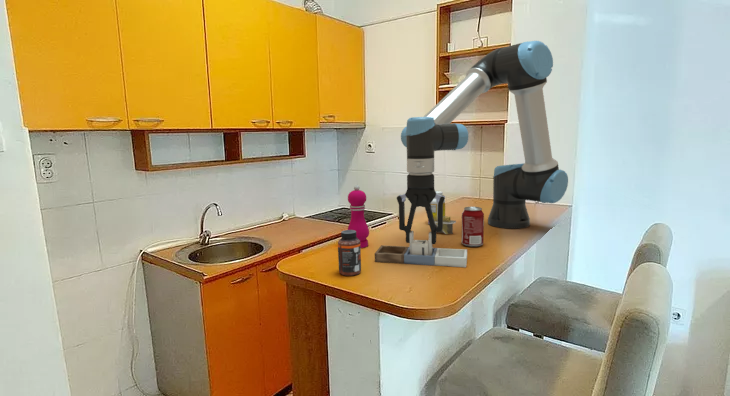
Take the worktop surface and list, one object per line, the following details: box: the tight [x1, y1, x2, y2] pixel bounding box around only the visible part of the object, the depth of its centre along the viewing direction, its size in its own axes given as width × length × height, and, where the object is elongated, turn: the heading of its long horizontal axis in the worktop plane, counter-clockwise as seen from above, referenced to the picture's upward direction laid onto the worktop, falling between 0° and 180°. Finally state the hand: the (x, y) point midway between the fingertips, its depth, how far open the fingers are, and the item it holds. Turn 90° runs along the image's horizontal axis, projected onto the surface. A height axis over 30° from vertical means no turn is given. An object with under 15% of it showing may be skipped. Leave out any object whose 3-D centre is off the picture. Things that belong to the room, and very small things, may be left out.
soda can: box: [461, 206, 485, 248], centre depth 129 cm, size 7×7×12 cm
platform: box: [434, 215, 457, 235], centre depth 145 cm, size 12×18×7 cm, turn 62°
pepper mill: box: [347, 184, 370, 249], centre depth 131 cm, size 7×7×20 cm
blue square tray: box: [403, 246, 438, 266], centre depth 116 cm, size 8×8×2 cm
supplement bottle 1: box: [337, 229, 362, 277], centre depth 107 cm, size 6×6×11 cm
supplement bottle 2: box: [427, 190, 446, 225], centre depth 158 cm, size 7×7×13 cm
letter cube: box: [412, 239, 429, 256], centre depth 116 cm, size 4×5×5 cm
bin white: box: [434, 247, 468, 268], centre depth 114 cm, size 8×8×2 cm
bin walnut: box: [374, 245, 409, 265], centre depth 119 cm, size 8×8×2 cm
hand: (421, 254), depth 116 cm, fingers open, 5 cm apart
